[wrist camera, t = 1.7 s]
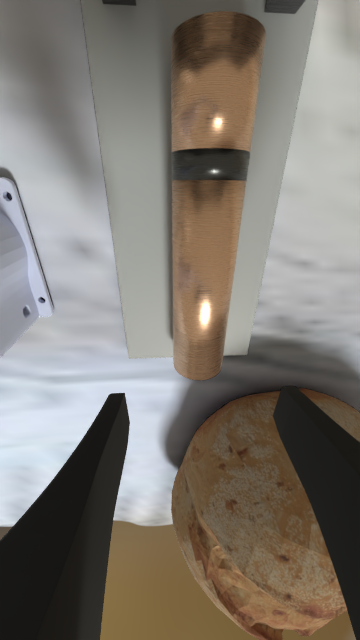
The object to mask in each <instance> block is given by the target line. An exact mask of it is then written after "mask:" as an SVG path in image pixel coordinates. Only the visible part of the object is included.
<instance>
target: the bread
mask: <svg viewBox="0 0 360 640" xmlns="http://www.w3.org/2000/svg"><path fill="white" fill-rule="evenodd" d="M299 390H300V391H301V392H302V393H303V394H305V395H306V396H307V397H308V398H309V399H310V400H311V401H312V402H313V403H315V404H316V405H317V406H318V407H319V408H320V409H321V410H322V411H324V412H325V413H326V414H327V415H328V416H329V417H330V418H331V419H333V420H334V421H335V422H336V423H337V424H338V425H340V426H341V427H342V428H343V429H344V430H346V431H347V432H348V433H349V434H350V435H352V436H353V437H354V438H355V439H356V440H358V441H359V442H360V412H359V411H357V410H356V409H354V408H353V407H351V406H350V405H348V404H346V403H344V402H342V401H341V400H339V399H337V398H334V397H332V396H329V395H326V394H323V393H320V392H317V391H313V390H309V389H305V388H300V389H299ZM280 391H281V390H280ZM280 391H275V392H266V393H258V394H253V395H248V396H244V397H241V398H238V399H236V400H233V401H230V402H229V403H227V404H226V405H224V406H223V407H222V408H220V409H219V410H217V411H216V412H215V413H214V414H212V415H211V416H210V417H209V418H208V419H207V420H206V421H205V422H204V423H203V424H202V425H201V426H200V427H199V428H198V430H197V431H196V432H195V434H194V436H193V438H192V440H191V442H190V444H189V446H188V449H187V451H186V453H185V456H184V460H183V462H182V464H181V466H180V468H179V470H178V472H177V475H176V478H175V481H174V486H173V490H172V507H171V511H172V519H173V526H174V529H175V533H176V536H177V540H178V542H179V545H180V547H181V550H182V553H183V555H184V558H185V560H186V562H187V564H188V566H189V568H190V571H191V572H192V575H193V577H194V578H195V580H196V581H197V582H198V583H199V585H200V586H201V588H202V589H203V590H204V591H205V593H206V594H207V595H208V596H209V598H210V599H211V600H212V601H213V603H214V604H215V605H216V606H217V607H218V608H219V609H220V610H221V611H222V612H223V613H225V614H226V615H227V616H228V617H229V618H230V619H231V620H233V621H234V622H235V623H236V624H237V625H238V626H240V627H241V628H242V629H243V630H244V631H246V632H247V633H249V634H251V635H252V636H254V637H256V638H258V639H259V640H282V631H283V630H284V629H291V630H292V629H293V630H295V631H296V632H297V633H299V634H300V635H301V636H309V635H311V634H312V633H314V632H315V631H316V630H317V629H319V628H321V627H323V626H325V625H326V624H327V623H328V622H329V621H330V620H332V619H334V618H336V617H337V616H338V615H340V614H342V613H343V612H345V611H347V607H346V604H345V601H344V598H343V594H342V591H341V588H340V585H339V582H338V579H337V576H336V573H335V570H334V567H333V564H332V561H331V558H330V555H329V553H328V550H327V547H326V544H325V541H324V538H323V536H322V533H321V530H320V527H319V525H318V522H317V519H316V517H315V514H314V511H313V509H312V506H311V504H310V501H309V499H308V497H307V494H306V492H305V490H304V488H303V486H302V484H301V481H300V479H299V477H298V475H297V473H296V471H295V469H294V467H293V464H292V462H291V460H290V458H289V456H288V454H287V452H286V449H285V447H284V445H283V443H282V441H281V439H280V436H279V433H278V430H277V427H276V424H275V421H274V418H273V413H274V410H275V407H276V404H277V400H278V397H279V394H280Z"/></svg>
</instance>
